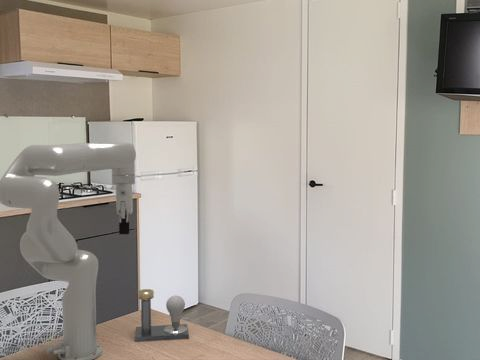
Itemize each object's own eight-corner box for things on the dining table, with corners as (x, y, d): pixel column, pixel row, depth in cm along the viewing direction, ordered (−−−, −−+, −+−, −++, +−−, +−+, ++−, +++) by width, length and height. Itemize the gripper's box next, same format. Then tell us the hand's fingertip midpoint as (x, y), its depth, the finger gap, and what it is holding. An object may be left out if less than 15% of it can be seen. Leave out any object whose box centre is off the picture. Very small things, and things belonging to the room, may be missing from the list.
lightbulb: (183, 331, 172) (183, 298, 171) (165, 331, 173) (164, 298, 172) (186, 325, 178) (186, 293, 177) (168, 324, 179) (167, 293, 178)
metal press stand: (134, 341, 169) (134, 304, 168) (136, 331, 178) (135, 296, 176) (188, 338, 171) (188, 302, 170) (186, 328, 180) (186, 293, 179)
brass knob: (138, 313, 170) (137, 294, 169) (138, 308, 175) (138, 289, 174) (153, 313, 171) (153, 293, 170) (153, 308, 176) (153, 288, 175)
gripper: (133, 181, 171) (134, 237, 173) (135, 177, 186) (136, 229, 187) (110, 182, 170) (111, 238, 171) (113, 177, 184) (114, 230, 186)
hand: (124, 233), depth 179 cm, fingers closed
